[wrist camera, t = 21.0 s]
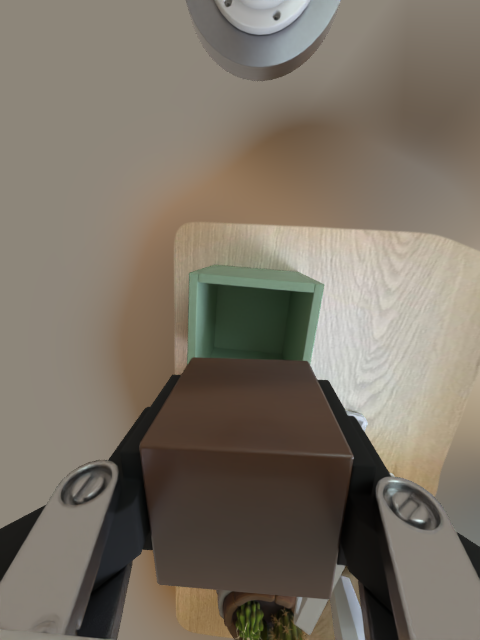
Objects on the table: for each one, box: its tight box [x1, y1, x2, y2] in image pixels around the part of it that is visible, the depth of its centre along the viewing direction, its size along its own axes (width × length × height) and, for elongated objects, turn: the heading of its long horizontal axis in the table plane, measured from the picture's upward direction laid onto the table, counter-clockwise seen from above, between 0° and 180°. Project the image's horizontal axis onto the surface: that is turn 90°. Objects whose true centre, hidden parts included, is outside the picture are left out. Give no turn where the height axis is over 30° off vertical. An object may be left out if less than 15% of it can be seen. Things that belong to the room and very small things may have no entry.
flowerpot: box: [217, 590, 306, 640], centre depth 37 cm, size 14×15×20 cm
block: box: [139, 357, 354, 600], centre depth 8 cm, size 4×4×4 cm
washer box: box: [187, 265, 324, 365], centre depth 28 cm, size 13×12×13 cm
